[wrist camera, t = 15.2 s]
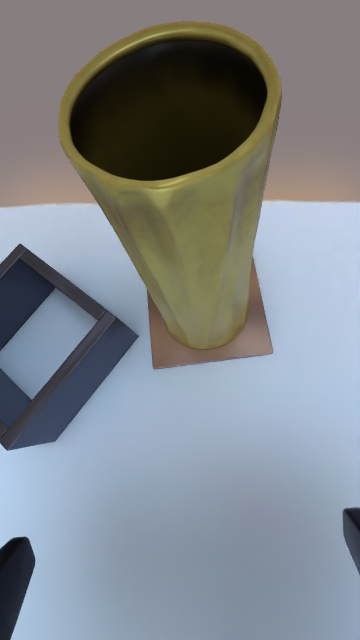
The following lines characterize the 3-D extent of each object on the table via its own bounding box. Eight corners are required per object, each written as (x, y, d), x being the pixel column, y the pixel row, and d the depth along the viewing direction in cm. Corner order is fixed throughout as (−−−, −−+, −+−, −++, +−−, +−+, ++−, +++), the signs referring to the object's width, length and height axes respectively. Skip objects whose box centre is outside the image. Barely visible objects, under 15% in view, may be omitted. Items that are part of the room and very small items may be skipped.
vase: (234, 362, 18) (260, 237, 5) (148, 334, 20) (-9, 178, 6) (259, 279, 20) (333, 9, 6) (178, 259, 21) (99, 2, 8)
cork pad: (272, 353, 19) (273, 352, 18) (154, 369, 20) (152, 368, 19) (250, 248, 21) (250, 245, 21) (146, 266, 22) (144, 263, 22)
